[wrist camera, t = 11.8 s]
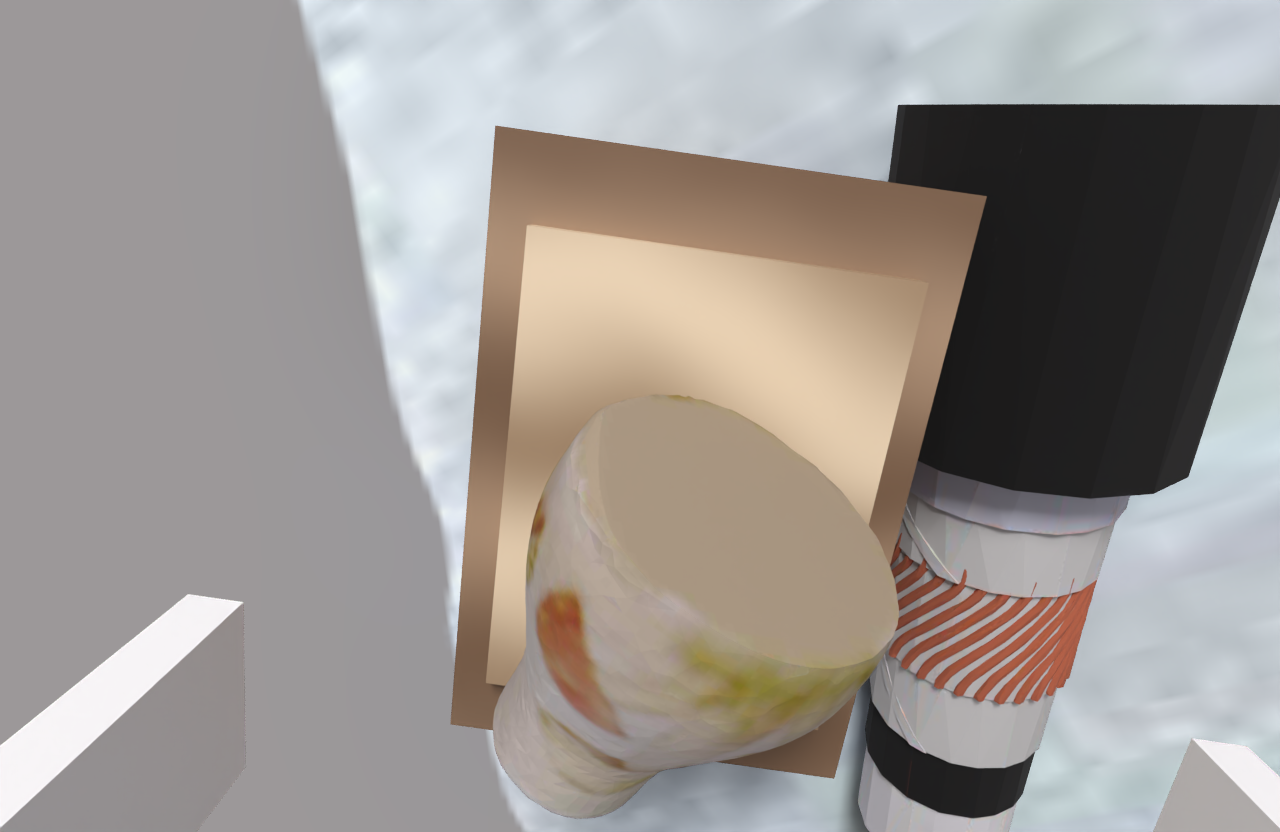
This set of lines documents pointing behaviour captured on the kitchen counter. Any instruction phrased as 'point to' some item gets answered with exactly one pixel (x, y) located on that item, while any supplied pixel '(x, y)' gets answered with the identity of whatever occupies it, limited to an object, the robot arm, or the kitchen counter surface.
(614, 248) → the plate
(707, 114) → the kitchen counter surface
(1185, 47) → the kitchen counter surface
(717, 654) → the mug
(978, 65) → the kitchen counter surface
